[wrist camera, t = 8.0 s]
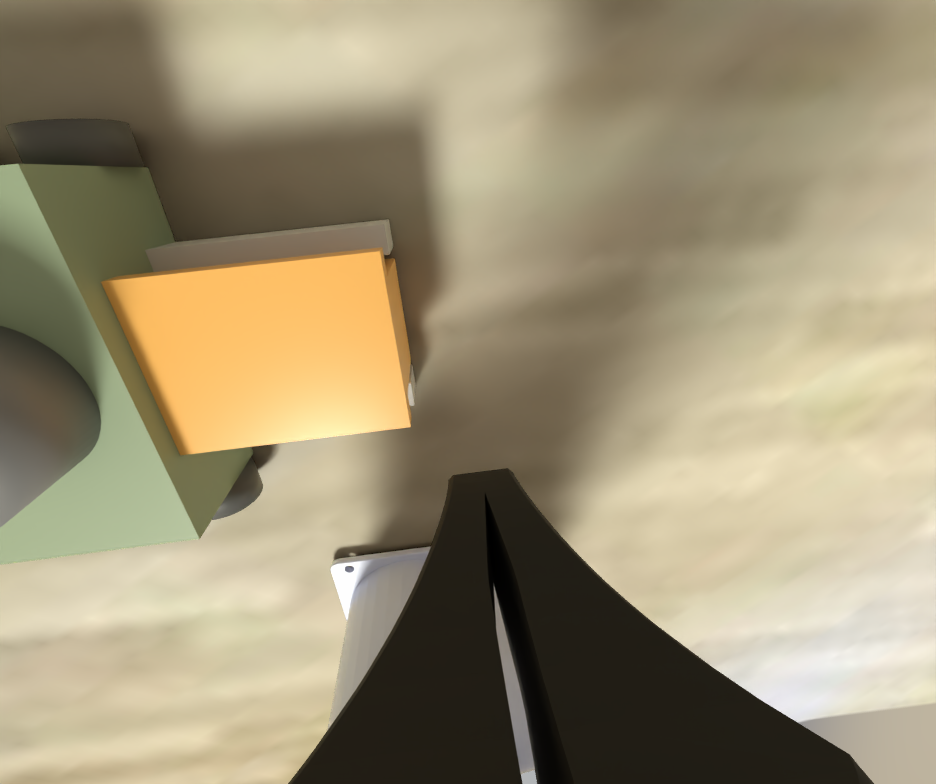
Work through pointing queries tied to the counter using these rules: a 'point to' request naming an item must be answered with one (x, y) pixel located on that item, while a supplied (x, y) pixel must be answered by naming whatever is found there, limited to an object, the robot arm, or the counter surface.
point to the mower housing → (105, 349)
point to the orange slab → (270, 348)
